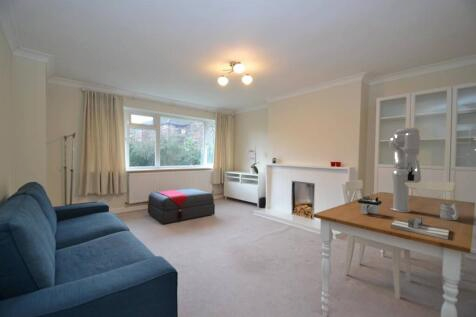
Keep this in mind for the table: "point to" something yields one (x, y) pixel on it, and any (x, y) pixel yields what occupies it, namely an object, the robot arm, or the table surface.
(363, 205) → the black-topped pedestal
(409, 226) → the door board
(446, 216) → the mug
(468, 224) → the table surface
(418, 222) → the bar
